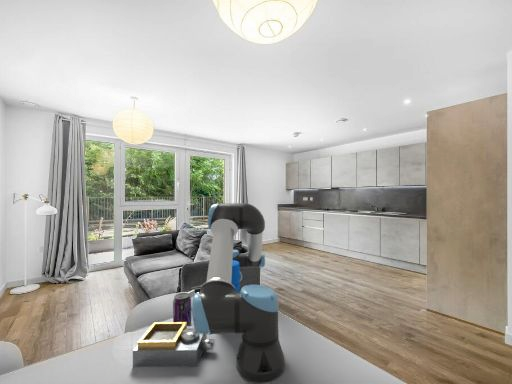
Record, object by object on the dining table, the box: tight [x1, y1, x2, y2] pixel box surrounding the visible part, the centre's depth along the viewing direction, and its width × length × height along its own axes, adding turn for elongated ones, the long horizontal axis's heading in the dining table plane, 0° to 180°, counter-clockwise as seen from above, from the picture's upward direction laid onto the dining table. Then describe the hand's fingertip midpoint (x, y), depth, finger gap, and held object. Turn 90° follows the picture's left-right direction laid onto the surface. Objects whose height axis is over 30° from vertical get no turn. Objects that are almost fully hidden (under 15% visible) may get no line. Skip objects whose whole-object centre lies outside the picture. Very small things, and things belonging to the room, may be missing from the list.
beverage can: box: [172, 292, 192, 326], centre depth 100 cm, size 7×7×12 cm
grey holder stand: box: [132, 321, 216, 368], centre depth 82 cm, size 24×14×7 cm, turn 89°
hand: (196, 300), depth 108 cm, fingers open, 13 cm apart
